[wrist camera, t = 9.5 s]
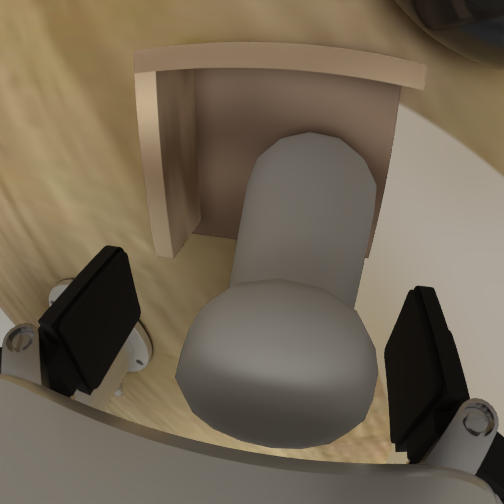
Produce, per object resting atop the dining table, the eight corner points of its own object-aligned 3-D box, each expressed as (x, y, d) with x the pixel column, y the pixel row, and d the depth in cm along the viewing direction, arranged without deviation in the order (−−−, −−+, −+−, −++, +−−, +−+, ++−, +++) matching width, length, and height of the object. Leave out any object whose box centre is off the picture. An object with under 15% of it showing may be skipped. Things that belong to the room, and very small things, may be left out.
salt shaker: (383, 139, 14) (483, 370, 4) (354, 236, 17) (351, 480, 7) (266, 112, 15) (99, 283, 4) (252, 213, 18) (149, 433, 8)
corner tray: (367, 248, 19) (373, 305, 15) (192, 224, 21) (159, 271, 17) (398, 62, 13) (427, 64, 8) (183, 48, 14) (133, 50, 10)
